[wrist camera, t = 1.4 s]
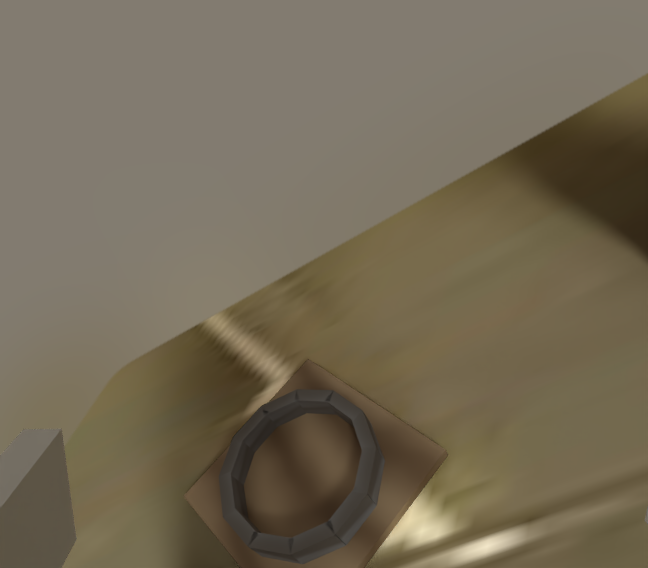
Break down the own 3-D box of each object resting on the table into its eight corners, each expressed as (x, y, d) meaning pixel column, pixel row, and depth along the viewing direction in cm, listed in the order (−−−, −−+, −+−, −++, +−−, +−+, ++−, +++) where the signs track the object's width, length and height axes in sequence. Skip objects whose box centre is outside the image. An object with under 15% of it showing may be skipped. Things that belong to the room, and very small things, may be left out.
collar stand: (311, 364, 57) (298, 345, 55) (448, 455, 45) (438, 436, 43) (188, 499, 52) (168, 485, 50) (306, 645, 40) (286, 635, 37)
